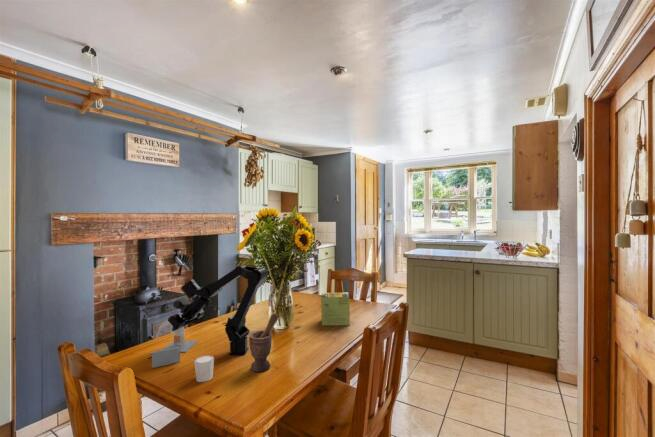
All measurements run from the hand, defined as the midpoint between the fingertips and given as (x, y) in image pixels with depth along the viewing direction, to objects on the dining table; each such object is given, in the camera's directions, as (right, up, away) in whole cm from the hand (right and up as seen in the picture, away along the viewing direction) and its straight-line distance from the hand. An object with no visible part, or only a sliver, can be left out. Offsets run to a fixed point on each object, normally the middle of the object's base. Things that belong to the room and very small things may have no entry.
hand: (176, 328), depth 144 cm
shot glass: (+25, -8, -29) cm, 39 cm away
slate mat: (+1, -8, 0) cm, 9 cm away
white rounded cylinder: (+2, -7, 0) cm, 7 cm away
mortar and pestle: (+45, -8, -21) cm, 50 cm away
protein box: (+75, -7, +29) cm, 80 cm away
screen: (+4, -8, -17) cm, 20 cm away
